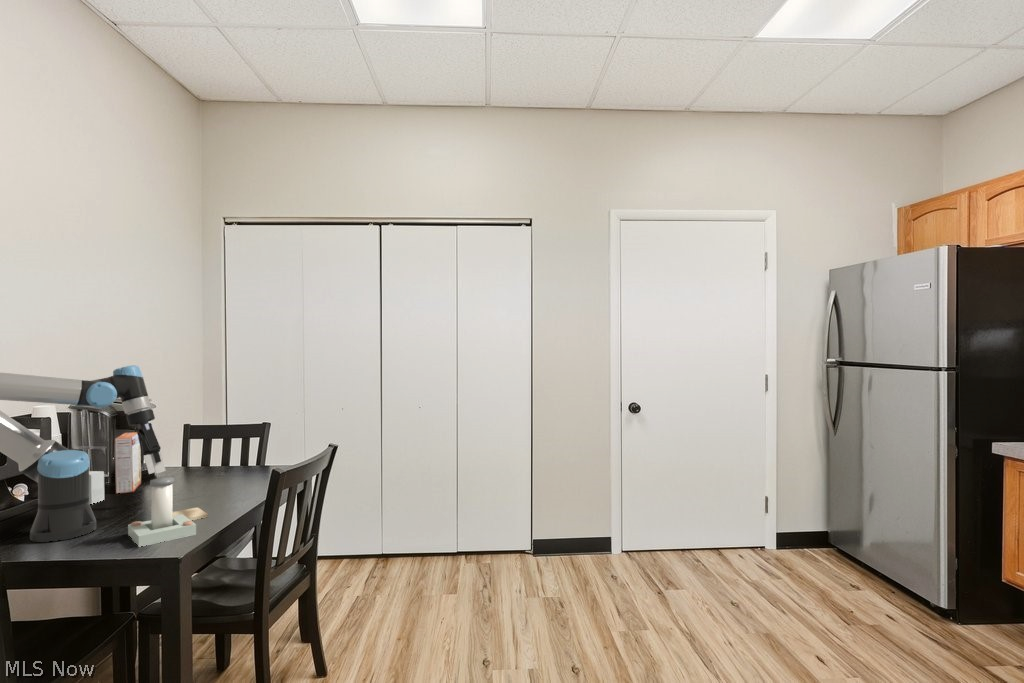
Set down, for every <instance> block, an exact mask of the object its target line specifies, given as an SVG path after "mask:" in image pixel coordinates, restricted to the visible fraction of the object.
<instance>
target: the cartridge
mask: <svg viewBox="0 0 1024 683" xmlns="http://www.w3.org/2000/svg"><path fill="white" fill-rule="evenodd" d="M174 482H175V478H174V477H171V476H168V477H165V476H164V477H158V478H157V477H156V478H154V479H153V478H152V479H150V480H149V486H150V487H151V489H150V490H151V493H150V494H151V496H150V497H151V499H150V500H151V501H150V502H151V505H150V506H151V508H150V509H151V511H150V512H151V516H150V517H151V518H150V520H151V530H155V529H160V528H165V527H169V526H173V512H174V510H173V508H174V507H173V504H174V503H173V502H174V501H173V499H174V498H173V492H174V491H173V487H174V486H173V484H174Z"/></svg>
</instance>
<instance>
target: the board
mask: <svg viewBox="0 0 1024 683" xmlns="http://www.w3.org/2000/svg"><path fill="white" fill-rule="evenodd" d="M181 514H183V515H184V516H186V517H187V518H188V519H190V520H191V521H192V520H193V521H197V519H198V520H202V519H201V518H203V519H206V517H208V518H209V514H208V512H205V511H204V510H202V509H201V508H200V507H192V508H187V509H180V510H175V511H173V516H176V515H181Z"/></svg>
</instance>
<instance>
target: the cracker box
mask: <svg viewBox="0 0 1024 683" xmlns="http://www.w3.org/2000/svg"><path fill="white" fill-rule="evenodd" d="M141 454H142V453H141V448H140V443H139V438H138V434H137V431H136V432H124V433H122V434H121V435H119V436H117V437H116V438H114V458H115V459H114V461H115V462H114V463H115V464H114V465H115V470H114V471H115V494H118V493H120V494H127V493H134V492H135V491H136V489H137V488H139V486H140V485H141V484H142V468H141V467H142V464H141V461H142V460H141V458H142V457H141Z"/></svg>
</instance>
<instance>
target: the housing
mask: <svg viewBox="0 0 1024 683" xmlns="http://www.w3.org/2000/svg"><path fill="white" fill-rule="evenodd" d="M127 532H128V533H127V535H128V537H129V536H130V537H131V538H132V539H131V538H130V537H129V538H130V539H131V541H132V542H133V543H134V544H135V543H136V544H137V545H138V546H137V545H136V544H135V545H136V546H137V547H138V548H142V547H141V546H143V547H146V545H147V546H150V545H151V546H152V545H156V544H159V543H160V542H161V543H165V542H169V541H170V542H171V541H174V540H178V539H183V538H187V537H192V536H196V535H197V523H195V522H194V520H193V521H191V520H190V519H188V518H187V517H186V516H184V515H183V514H181V515H176V516H173V526H169V527H165V528H160V529H155V530H151V519H150V520H146V521H141V520H138V521H133V522H131V523H130V524H128V525H127ZM164 541H165V542H164Z"/></svg>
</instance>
